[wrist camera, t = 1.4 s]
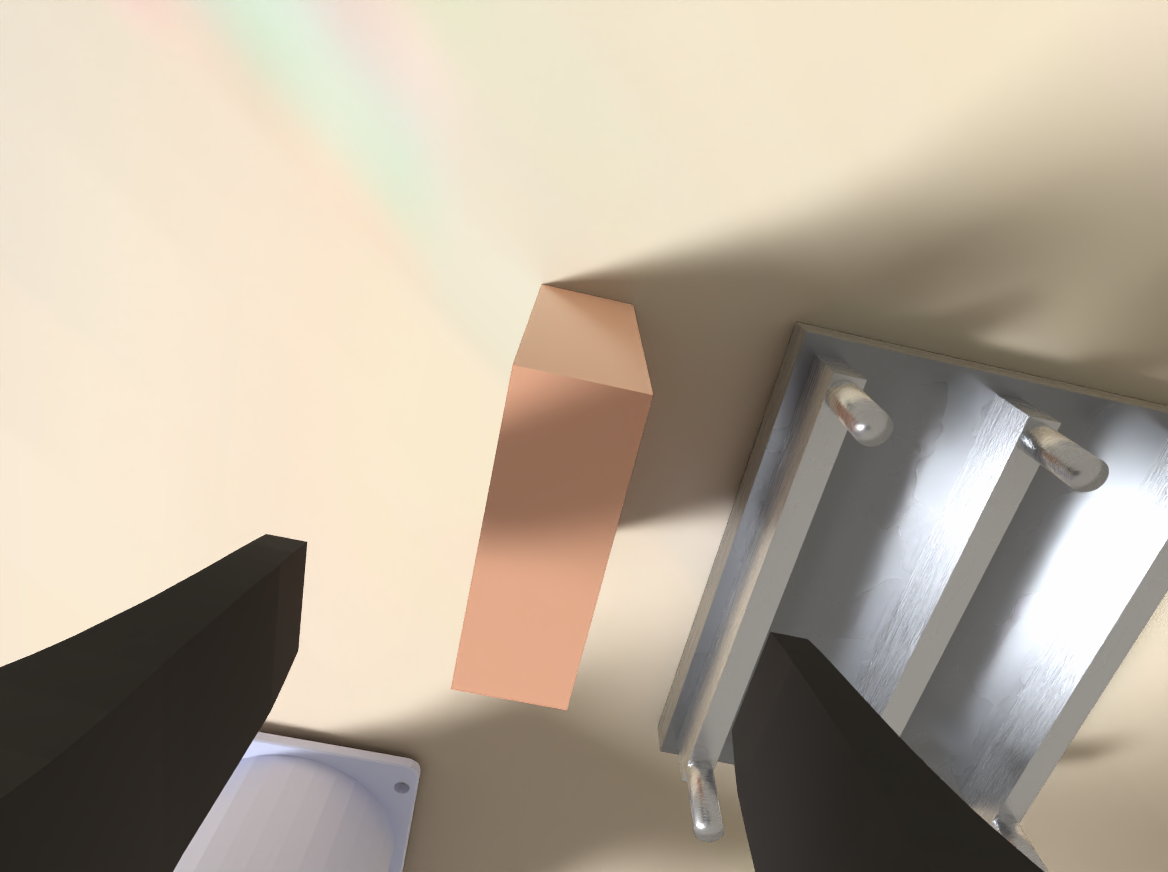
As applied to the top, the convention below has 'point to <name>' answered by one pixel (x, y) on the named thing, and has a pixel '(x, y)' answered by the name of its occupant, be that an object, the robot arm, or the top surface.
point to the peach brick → (554, 497)
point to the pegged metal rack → (933, 562)
